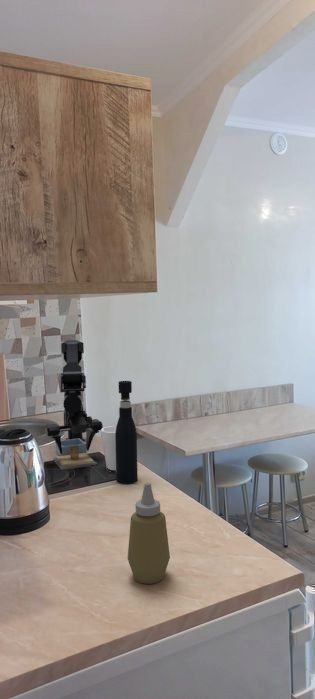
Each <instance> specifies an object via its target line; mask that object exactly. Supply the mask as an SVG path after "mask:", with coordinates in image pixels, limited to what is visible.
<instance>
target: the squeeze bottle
mask: <svg viewBox="0 0 315 699" xmlns="http://www.w3.org/2000/svg"><path fill="white" fill-rule="evenodd" d="M128 537H129V538H128V546H127V547H128V549H127V561H128V564H129V567H130V570H131V572H132V575H133V578H134V580H136V581H137V582H138V583H141V584H148V585H151V584H155V583H156V584H157V583H159V582H161V581H162V580H163V579H164V577H165V574H166V571H167V568H168V565H169V562H170V559H171V556H170V547H169V546H170V545H169V538H168V529H167V520H166V516H165V514H164V512H162V511H161V503H160V501H159V500H158V499H155V497H154V492H153V489H152V484H151V483H150V482H149V483H148V482H147V483H144V485H143V490H142V494H141V499H139V500H137V501H136V503H135V512H134V513H133V514H132V515H131V516H130V525H129V536H128Z"/></svg>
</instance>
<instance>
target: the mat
mask: <svg viewBox="0 0 315 699" xmlns="http://www.w3.org/2000/svg"><path fill="white" fill-rule="evenodd" d="M87 455H88V456H89V457H90V458H91V459H92V460H93V463H89V464H82V465H75V466H68V467H63V466H62V464H61V463H60V462H59V461H58V460H57V457H55V458H53V461H54V464H55V465H56V466H57V467H58V468H59V469H60V471H66V470H73V469H78V468H80V469H81V468H85V467H92V466H91V465H94V466H96V465H95V464H97V465H98V462H96V461H95V459H93V458H92V457H91V456H90V455H89V454H88V453H87Z"/></svg>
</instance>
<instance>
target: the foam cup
mask: <svg viewBox="0 0 315 699" xmlns="http://www.w3.org/2000/svg"><path fill="white" fill-rule="evenodd" d="M116 426H117V425H110V426H105V427H103V428H102V429H101V430H100V438H101V441H102V446H103V452H104V453H103V454H104V459H105V467H106V469H107V468H108V469H110V470H116V441H115V433H116Z"/></svg>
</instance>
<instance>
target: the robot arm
mask: <svg viewBox="0 0 315 699" xmlns="http://www.w3.org/2000/svg"><path fill="white" fill-rule="evenodd" d="M84 345H85V344H84V342H81V341H79V340H78V339H74V340H73V339H70V340H65V341H64V342H61V343H60V347H61V348H60V349H61V350H60V352H61V353H60V354H61V355H63V361H64V362H65V363H66V364H65V365H64V366H63V367H62V372H61V373H60V393H64V394H63V396H64V399H63V408H64V410H63V425H59V424H57V423H49V424H46V425H45V426H44V429H43V430H44V434H45V435H46V436H47V437H50V439H53V440H54V441H55V446H56V445H57V447H58V450H59V452H60V454H61V455H62V446H61V440H62V438H61V437H62V436H61V434H60V433H61V432H67V437H66V438H65V440H69V439H77V438H80V439H81V440H82V441H83V442H85V443H86V449H87V452H89V450H90V447H91V444H92V441H93V439H94V437H95V435H96V434H98V433H99V432H100V431H101V429H102V428H104V426H103V422H102V421H100V420H99V419H97V418H94V419H93V418H92V416H91V415H90V416H89V415H88V414H87V412H86V410H84V404H83V401H82V400H83V399H82V395H83V394H82V392H85V389H87V380H86V379H87V378H86V377H87V376H86V375H85V372H83V371H82V370H83V369H82V366H81V365H80V363H81V361H82V359H83V354H85V353H84V352H85V349H84V348H85V346H84ZM83 434H85V436H86V438H84V437H83Z"/></svg>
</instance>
